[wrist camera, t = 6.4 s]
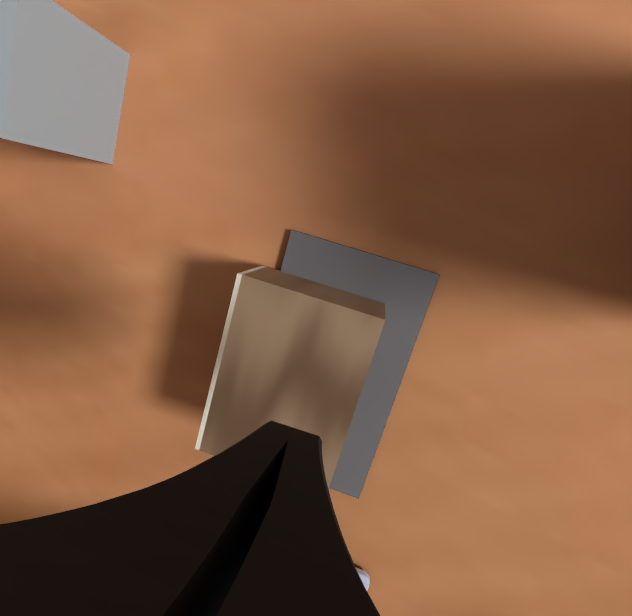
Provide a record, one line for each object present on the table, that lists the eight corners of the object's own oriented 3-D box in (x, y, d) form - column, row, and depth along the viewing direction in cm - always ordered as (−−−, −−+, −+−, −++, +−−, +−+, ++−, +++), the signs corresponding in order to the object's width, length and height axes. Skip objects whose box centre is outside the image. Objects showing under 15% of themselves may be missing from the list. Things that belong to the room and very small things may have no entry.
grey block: (113, 164, 20) (2, 138, 14) (23, 137, 21) (-120, 101, 15) (130, 54, 19) (19, -23, 13) (35, 28, 19) (-114, -57, 14)
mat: (359, 495, 21) (358, 498, 21) (233, 449, 22) (231, 452, 22) (438, 274, 19) (439, 274, 18) (292, 229, 19) (291, 229, 19)
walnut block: (225, 413, 21) (335, 452, 21) (194, 448, 18) (326, 496, 17) (262, 265, 19) (384, 303, 19) (237, 273, 16) (385, 319, 15)
